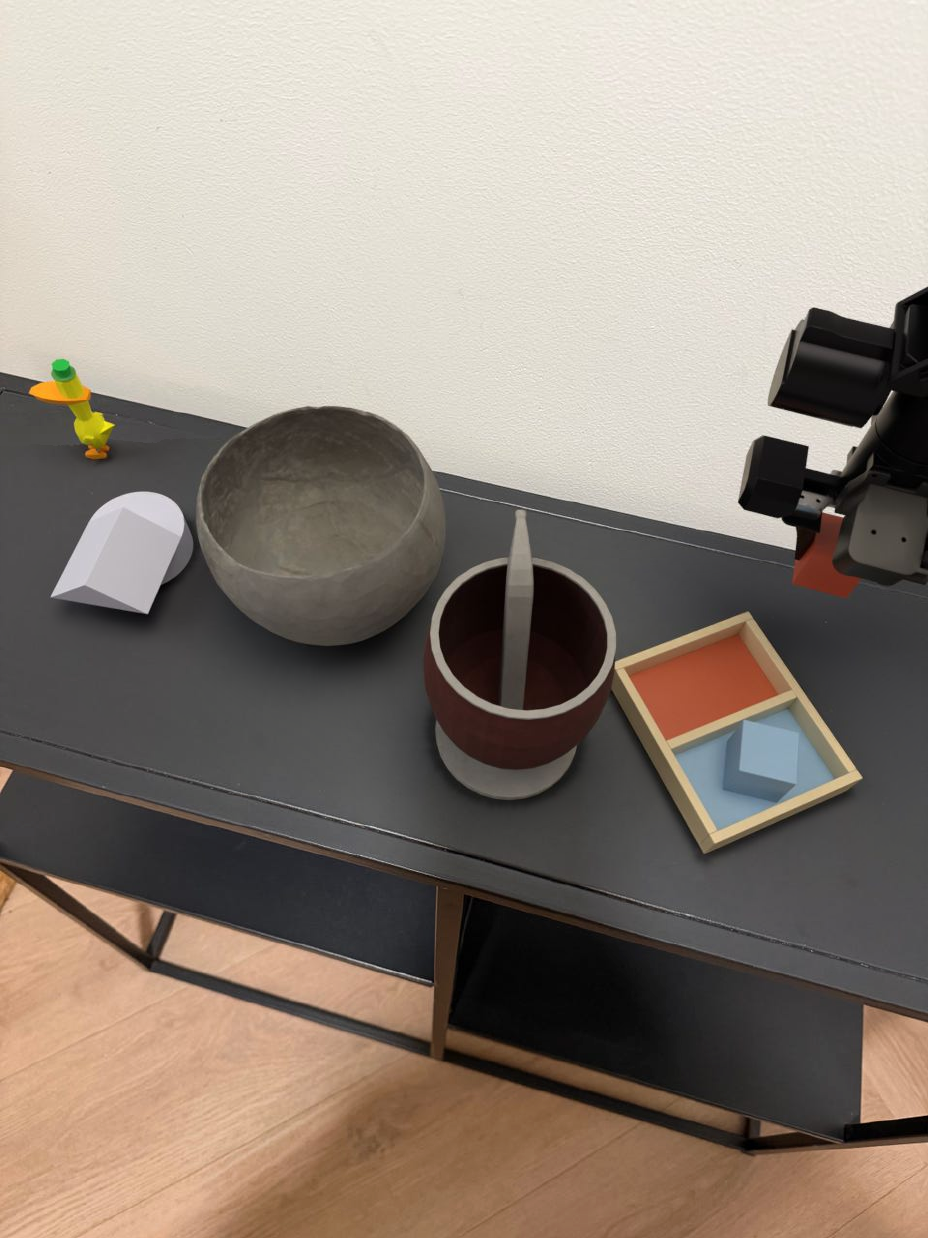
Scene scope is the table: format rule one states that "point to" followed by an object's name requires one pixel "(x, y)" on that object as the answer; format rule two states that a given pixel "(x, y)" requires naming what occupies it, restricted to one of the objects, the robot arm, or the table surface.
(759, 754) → the blue block
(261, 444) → the bowl
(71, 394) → the toy figure
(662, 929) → the table surface
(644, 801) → the table surface
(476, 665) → the mate gourd
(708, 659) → the sorting tray
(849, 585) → the red block
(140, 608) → the wedge on round base
